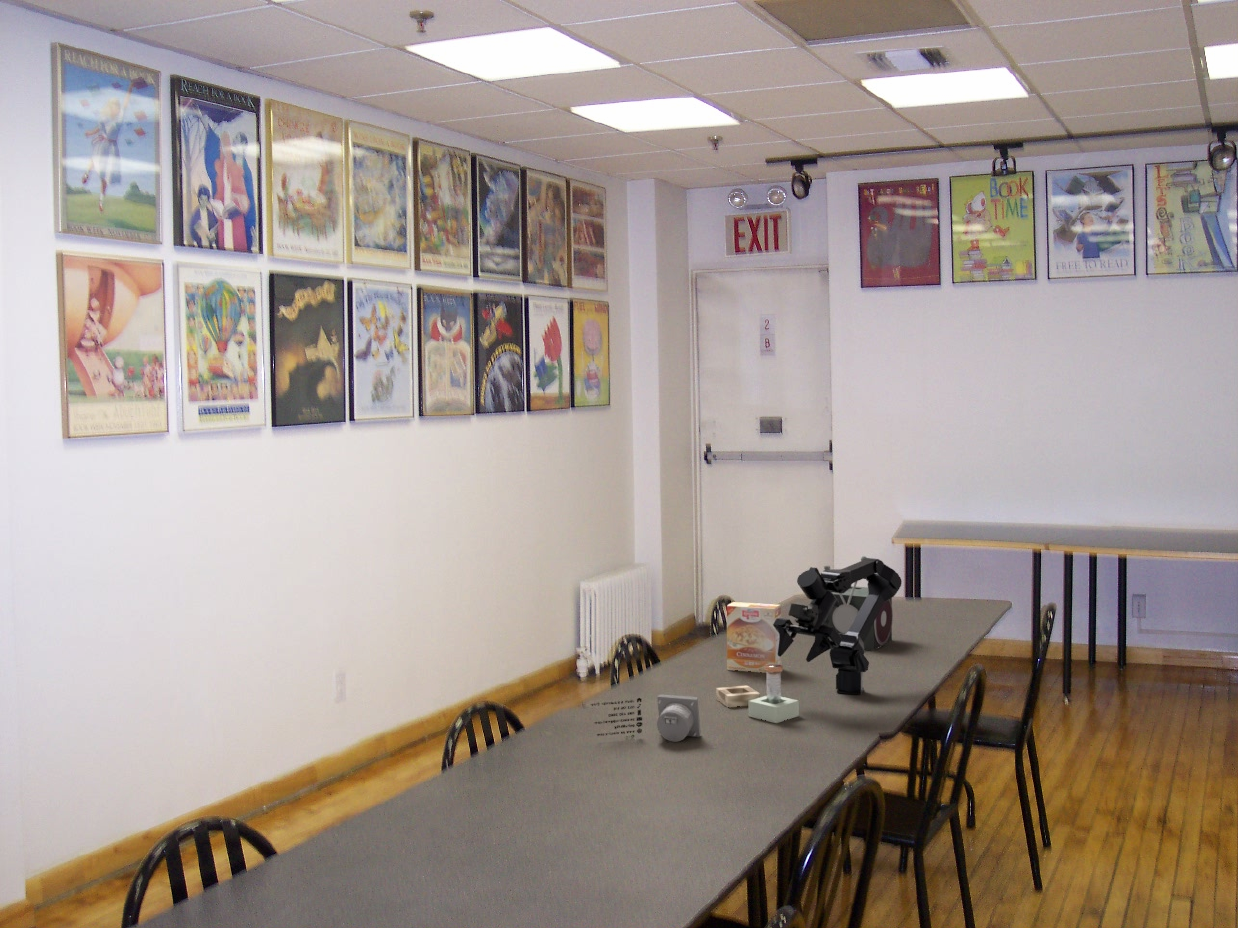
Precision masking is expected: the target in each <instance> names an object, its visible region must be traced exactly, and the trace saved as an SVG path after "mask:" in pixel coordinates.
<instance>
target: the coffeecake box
mask: <svg viewBox="0 0 1238 928" xmlns="http://www.w3.org/2000/svg"><path fill="white" fill-rule="evenodd" d="M777 618H782V605H781V604H774V603H771V604H770V603H758V602H757V603H756V602H743V601H742V602H740V601H739V602H738V601H732V602H730V603H728V604H727V605H726V667H727V668H726V670H727V671H735V670H738V672H748V671H751V672H750V673H760V672H762V673H761V674H763V673H764V674H767V672H766V671H765V669H764V666H765V665H766V664H780V665H782V656H781V657H779V656H778V647H779V633H778V631H777V630H776V629H775V627H774V626H773V624H774V622H775V620H776V619H777Z"/></svg>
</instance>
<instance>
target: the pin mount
mask: <svg viewBox="0 0 1238 928" xmlns="http://www.w3.org/2000/svg"><path fill="white" fill-rule="evenodd" d="M760 697H761V693H760V692H758V691H757V690H755V689H753V688H752V687H751V686H749V685H736V686H727V687H726V686H724V687H715V699H716V700H717V701H718V702H719V701H720V703H721V704H723V706H725V707H726V708H728V707H729V708H737V706H740V707H748V701H750V700H753V699H757V698H760Z"/></svg>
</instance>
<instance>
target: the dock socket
mask: <svg viewBox="0 0 1238 928" xmlns="http://www.w3.org/2000/svg"><path fill="white" fill-rule="evenodd" d="M799 701H800V700H797V699H794V698H788V697H784V696H781V703H778V704H771V703H767V695H764V696H760V698H757V699H753V700H750V701H748V706H747V707H748V717H750V718H753V719H757V720H761V719H762V721H765V720H766V721H765V722H770V723H774V724H779V723H782V722H784V720H785V721H788V720H790V719H793V718H797V717H800V715H799V714H800V713H799V711H800V709H799V706H800V703H799ZM787 719H788V720H787Z"/></svg>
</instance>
